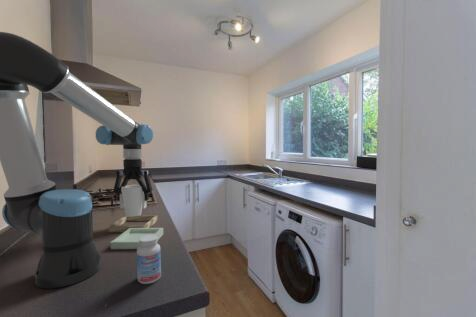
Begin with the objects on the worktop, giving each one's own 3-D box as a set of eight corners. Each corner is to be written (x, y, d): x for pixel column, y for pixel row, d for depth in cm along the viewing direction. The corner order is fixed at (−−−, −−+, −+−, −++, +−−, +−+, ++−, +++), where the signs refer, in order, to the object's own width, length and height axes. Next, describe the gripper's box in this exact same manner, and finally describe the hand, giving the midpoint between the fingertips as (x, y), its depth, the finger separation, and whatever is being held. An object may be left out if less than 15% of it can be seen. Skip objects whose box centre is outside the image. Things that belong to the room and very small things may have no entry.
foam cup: (117, 215, 101) (116, 186, 101) (135, 211, 109) (134, 184, 109) (131, 218, 97) (131, 188, 96) (149, 213, 105) (148, 185, 105)
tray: (150, 248, 80) (149, 241, 80) (110, 249, 80) (110, 242, 80) (163, 233, 94) (163, 227, 94) (129, 234, 94) (129, 228, 94)
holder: (144, 231, 96) (144, 226, 96) (108, 232, 96) (108, 226, 96) (158, 220, 112) (157, 215, 112) (126, 220, 112) (126, 215, 112)
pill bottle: (141, 288, 58) (139, 244, 57) (134, 277, 62) (133, 237, 62) (164, 279, 61) (163, 238, 61) (157, 269, 66) (155, 232, 66)
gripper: (159, 158, 106) (160, 205, 107) (112, 158, 106) (113, 205, 107) (153, 158, 99) (154, 209, 99) (103, 158, 99) (104, 210, 99)
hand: (133, 207), depth 103 cm, fingers closed on foam cup, 9 cm apart
